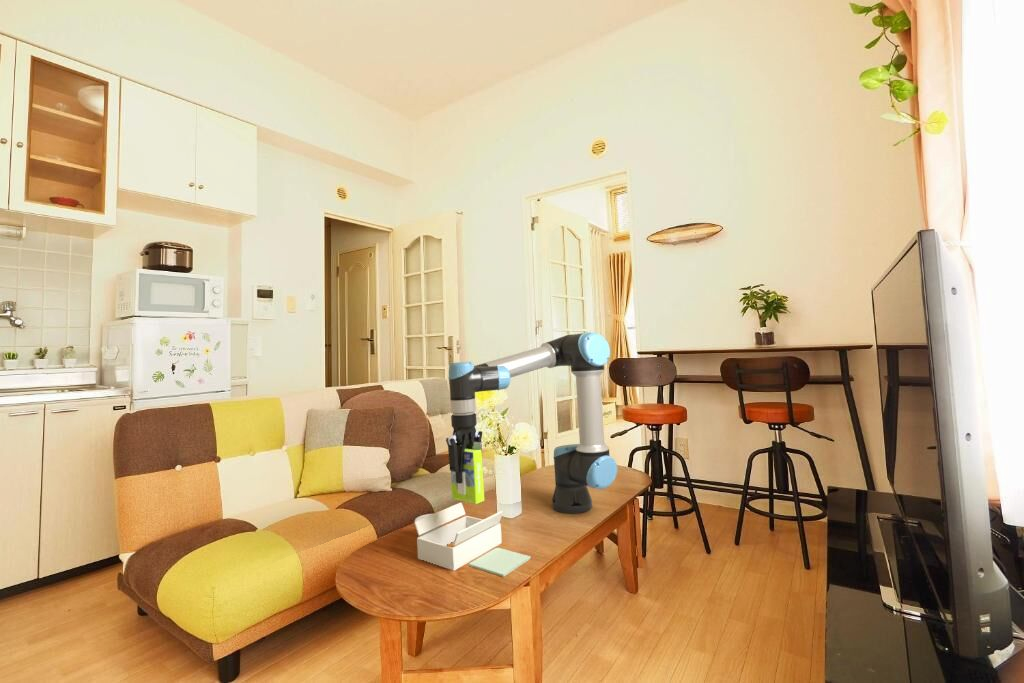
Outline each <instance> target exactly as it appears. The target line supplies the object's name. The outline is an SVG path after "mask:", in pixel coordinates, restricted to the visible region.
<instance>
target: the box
mask: <svg viewBox="0 0 1024 683" xmlns="http://www.w3.org/2000/svg"><path fill="white" fill-rule="evenodd" d="M481 443H482V442H481ZM481 443H479V442H473V447H472V449H465V451H464V465H463V472H465V479H466V494H465V495H464V494H459V493H458V483H457V482H456V473H455V472H454V471H450V477H451V479H450V480H451V499H452V500H457V501H460V502H465V503H469V504H473V505H478V504H480V503H482V502H485V488H484V486H485V485H484V472H483V451H482V452H481ZM460 446H462V445H460ZM458 468H459V467H458Z"/></svg>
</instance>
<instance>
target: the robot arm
mask: <svg viewBox="0 0 1024 683" xmlns="http://www.w3.org/2000/svg"><path fill="white" fill-rule="evenodd" d="M610 357H611V349H610V345H609V343H608V340H606V338H604V337H603V335H601V334H600V333H597V332H588V331H587V332H583V333H582V332H581V333H575V334H566V335H563V336H561V337H558V338H556V339H555V338H554V339H553V340H550V341H546V342H544V343H542V344H541V345H540V346H539V347H536V348H533V349H529V350H526V351H525V350H524V351H523V352H517V353H515V354H511V355H509V356H504V357H501V358H498V359H494V360H490V361H487V362H483V363H480V364H475V365H474V363H473V362H472V361H459V362H458V361H457V362H452V363H450V364H448V365H449V366H448V385H449V402H450V413H451V416H450V420H451V427H452V429H453V432H452V436H450V437H446V438H445V442H446V444H447V451H448V461H449V462H448V465H449V471H450V472H451V471H454V472H455V473H456V482H457V483H458V493H459V494H464V495H465V494H466V479H465V472H463V465H464V451H465V449H472V447H473V442H479V443H481V452H482V453H483V450H482V449H483V448H482V447H483V446H482V437H483V431H482V430H477V428H476V426H477V413H475V412H476V411H477V408H476V406H477V405H476V393H479V392H490V391H491V392H492V391H500V390H506V389H508V388H509V386H510V384H511V378H513V377H514V378H515V377H516V376H520V375H525V374H527V373H531V372H533V371H536V370H541V369H543V368H548V369H552V368H556V367H570V372H571V373H572V374H573V375H574V376H575V385H576V386H575V387H576V401H577V418H578V421H577V422H578V433H579V434H578V435H579V436H578V437H579V443H573V444H571V443H570V444H563V445H559V446H556V447H555V448H554V449H553V464H554V465H553V467H554V482H555V486H554V491H553V494H552V499H551V508H552V510H554V511H556V512H559V513H563V514H580V513H585V512H588V511H590V510H592V509H593V499H592V497H591V494H590V490H589V489H588V488H591V489H597V490H604V489H607V488H608V487H610V486H611V485H612V484H613V482H614V481H615V479H616V478H617V474H618V464H617V461H616V460H615V459H614V457H612V456H610V447H609V446H608V445H607V444H606V442H605V434H604V433H605V432H604V431H605V430H604V415H603V402H602V401H603V400H602V383H601V375H602V374H603V372H604V371H605V364H607V363H608V360H609V359H610ZM460 445H462V446H460ZM458 467H459V468H458Z"/></svg>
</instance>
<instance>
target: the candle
mask: <svg viewBox="0 0 1024 683" xmlns="http://www.w3.org/2000/svg"><path fill="white" fill-rule="evenodd" d="M432 514H433V513H426V514H423V515H420V516H418V517H415V519H414V522H415V521H418V520H420V519H423V518H425V517H427V516H430V515H432ZM442 526H443V525H440V526H438V527H436V528H434V529H432V530H429V531H427V532H425V533H423V534H421V535H418V534H417V536H418V537H421V536H423V535H425V534H427V533H429V532H431V531H434V530H436V529H438V528H440V527H442Z"/></svg>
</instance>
